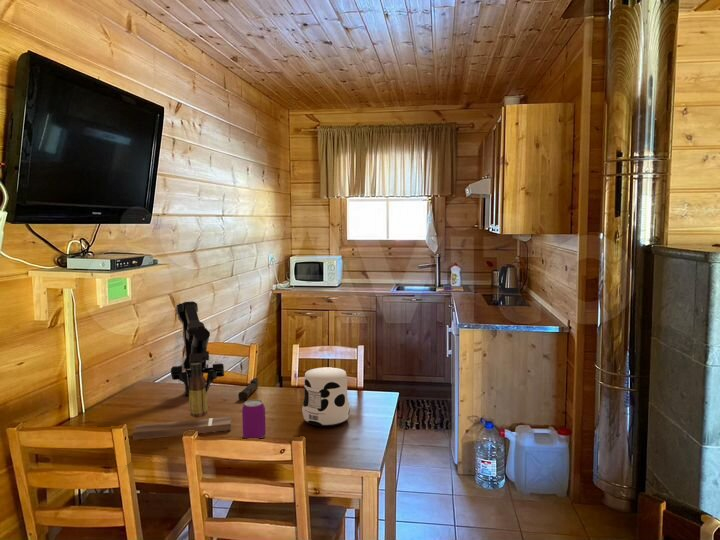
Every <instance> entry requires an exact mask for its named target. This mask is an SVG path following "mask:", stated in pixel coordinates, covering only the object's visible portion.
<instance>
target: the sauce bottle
mask: <svg viewBox="0 0 720 540" xmlns="http://www.w3.org/2000/svg"><path fill="white" fill-rule="evenodd" d="M190 367H191V378H190V381H189V396H188V399H189V400H188V401H189V402H188V403H189V412H190V416H191V417H192V418H196V419H197V418H202V417H205V416H207V415H208V394H207V393H208V391H207V392H206V382H207V380H206V378H205V376H204V374H203V375H202V362H192V363H191V364H190Z"/></svg>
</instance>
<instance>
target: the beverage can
mask: <svg viewBox="0 0 720 540" xmlns="http://www.w3.org/2000/svg"><path fill="white" fill-rule="evenodd" d="M241 414H242V415H241V417H242V418H241V419H242V437H243V438H244V439H246V438H262V439H263V438H264V437H265V436H266V432H267V429H266V427H267V426H266V425H267V424H266V406H265V404H264V402H263V400H262V399H255V398H254V399H249V400H248V399H247V400H245V401H244V404H243V406H242V408H241Z"/></svg>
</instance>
